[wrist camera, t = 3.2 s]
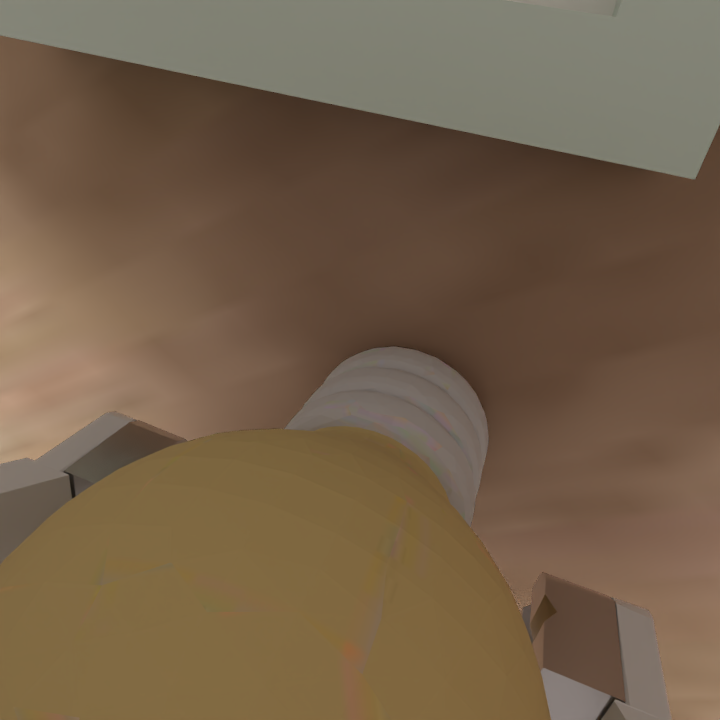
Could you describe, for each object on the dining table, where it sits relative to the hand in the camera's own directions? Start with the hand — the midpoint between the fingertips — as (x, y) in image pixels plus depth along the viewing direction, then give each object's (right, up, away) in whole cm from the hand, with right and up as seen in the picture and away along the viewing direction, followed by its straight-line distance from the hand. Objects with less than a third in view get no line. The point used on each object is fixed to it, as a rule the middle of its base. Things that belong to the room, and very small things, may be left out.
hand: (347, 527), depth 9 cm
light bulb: (+1, +2, +3) cm, 4 cm away
